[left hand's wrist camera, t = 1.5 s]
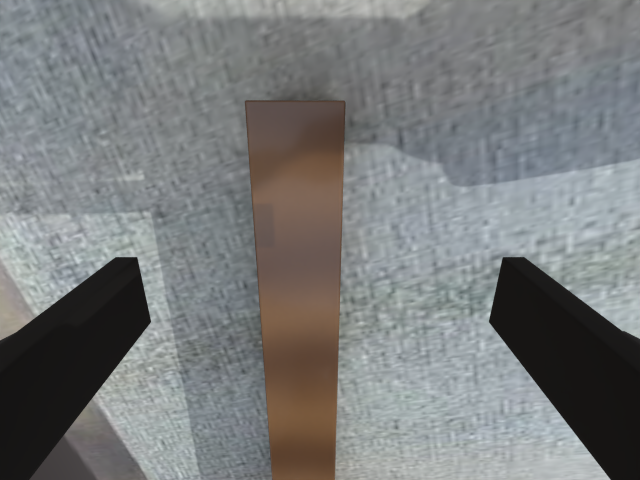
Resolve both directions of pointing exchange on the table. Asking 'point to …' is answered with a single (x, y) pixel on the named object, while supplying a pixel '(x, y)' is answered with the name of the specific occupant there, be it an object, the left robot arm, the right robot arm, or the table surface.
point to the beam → (298, 275)
